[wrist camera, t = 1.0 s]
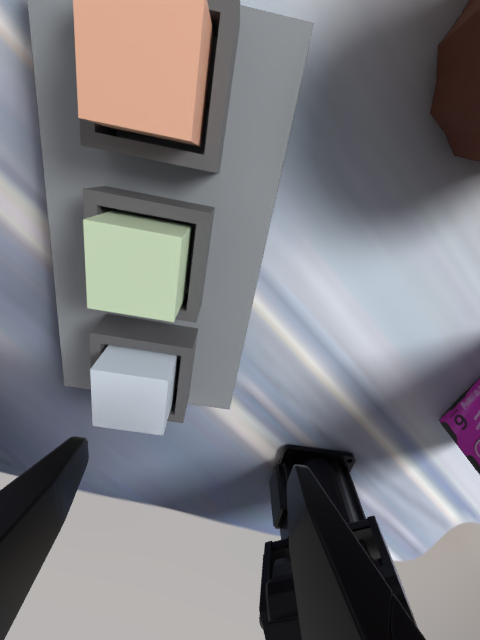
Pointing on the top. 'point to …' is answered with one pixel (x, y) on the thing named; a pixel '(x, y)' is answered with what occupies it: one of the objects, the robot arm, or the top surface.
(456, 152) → the muffin
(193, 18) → the terracotta button
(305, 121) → the top surface
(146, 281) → the sage button
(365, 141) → the top surface
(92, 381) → the slate button
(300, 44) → the button panel
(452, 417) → the candy bar box
